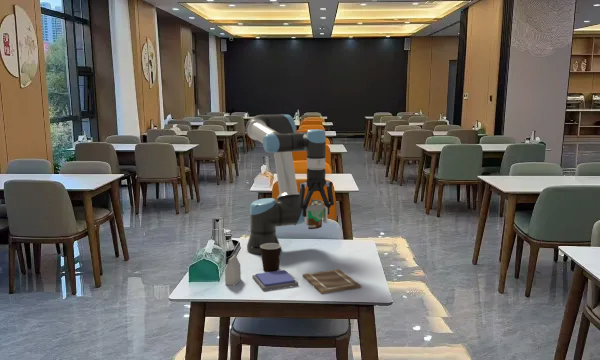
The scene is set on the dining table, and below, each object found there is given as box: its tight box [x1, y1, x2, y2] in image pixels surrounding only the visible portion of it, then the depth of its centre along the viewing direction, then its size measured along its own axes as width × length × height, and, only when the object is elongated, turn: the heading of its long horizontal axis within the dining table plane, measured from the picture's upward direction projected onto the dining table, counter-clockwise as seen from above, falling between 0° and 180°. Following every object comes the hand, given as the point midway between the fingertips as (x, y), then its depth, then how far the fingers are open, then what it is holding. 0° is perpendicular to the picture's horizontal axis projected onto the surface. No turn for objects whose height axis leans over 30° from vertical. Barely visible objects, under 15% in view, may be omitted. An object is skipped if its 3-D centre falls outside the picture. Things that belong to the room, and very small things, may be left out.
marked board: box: [302, 268, 362, 295], centre depth 202 cm, size 19×16×1 cm
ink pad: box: [252, 269, 299, 292], centre depth 203 cm, size 14×14×2 cm
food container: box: [307, 199, 325, 230], centre depth 214 cm, size 12×6×10 cm, turn 172°
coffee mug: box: [260, 243, 282, 273], centre depth 217 cm, size 12×9×10 cm
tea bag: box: [224, 254, 242, 286], centre depth 202 cm, size 4×7×10 cm, turn 166°
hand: (315, 223), depth 215 cm, fingers closed on food container, 8 cm apart
